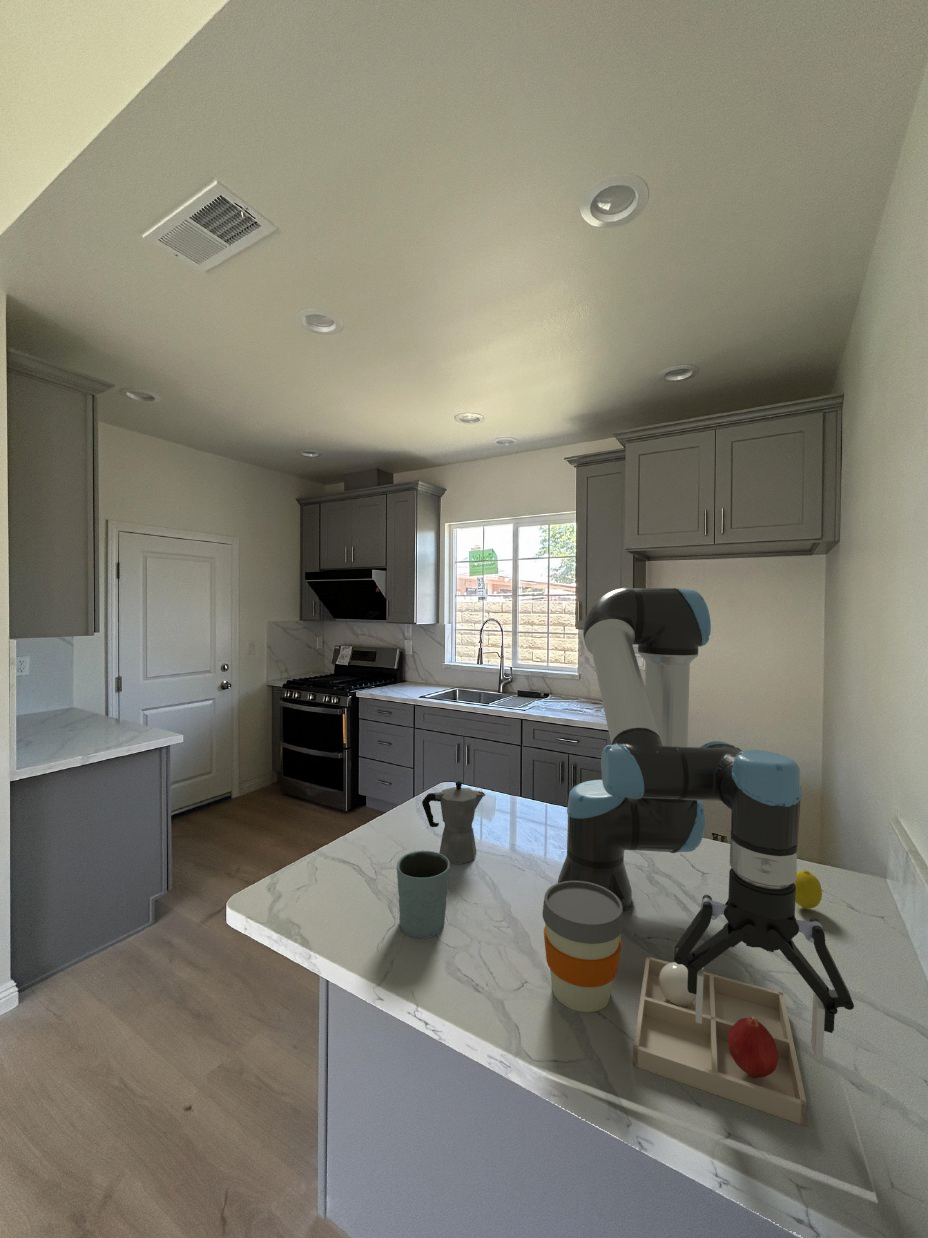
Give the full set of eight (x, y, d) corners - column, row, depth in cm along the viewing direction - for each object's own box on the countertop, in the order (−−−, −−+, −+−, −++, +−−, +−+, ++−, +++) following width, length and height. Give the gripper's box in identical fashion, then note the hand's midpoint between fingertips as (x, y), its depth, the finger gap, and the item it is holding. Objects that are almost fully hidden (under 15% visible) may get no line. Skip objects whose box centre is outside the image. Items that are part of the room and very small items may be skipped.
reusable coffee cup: (619, 972, 90) (621, 885, 89) (624, 1032, 78) (627, 931, 77) (544, 960, 93) (545, 875, 92) (537, 1015, 80) (539, 918, 80)
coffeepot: (479, 843, 135) (480, 773, 135) (489, 862, 126) (490, 786, 125) (418, 849, 132) (419, 777, 131) (424, 868, 123) (425, 791, 122)
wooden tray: (632, 1069, 72) (633, 1047, 71) (645, 973, 90) (646, 956, 90) (806, 1130, 64) (807, 1106, 64) (782, 1011, 82) (783, 993, 82)
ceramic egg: (657, 1008, 82) (658, 972, 81) (659, 984, 87) (660, 950, 86) (697, 1020, 79) (698, 984, 79) (697, 994, 84) (698, 960, 84)
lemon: (826, 919, 106) (827, 879, 105) (795, 915, 107) (796, 876, 106) (813, 903, 111) (815, 865, 111) (784, 899, 112) (786, 862, 112)
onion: (718, 1057, 73) (719, 1000, 73) (759, 1054, 73) (760, 998, 73) (744, 1097, 67) (745, 1035, 67) (787, 1094, 68) (789, 1032, 67)
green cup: (425, 903, 109) (426, 845, 109) (460, 925, 102) (461, 864, 101) (385, 924, 102) (385, 862, 102) (419, 949, 95) (419, 883, 94)
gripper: (657, 867, 71) (652, 1022, 72) (891, 915, 61) (881, 1094, 62) (660, 843, 77) (656, 985, 78) (871, 882, 67) (863, 1044, 69)
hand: (755, 1033), depth 70 cm, fingers open, 13 cm apart
